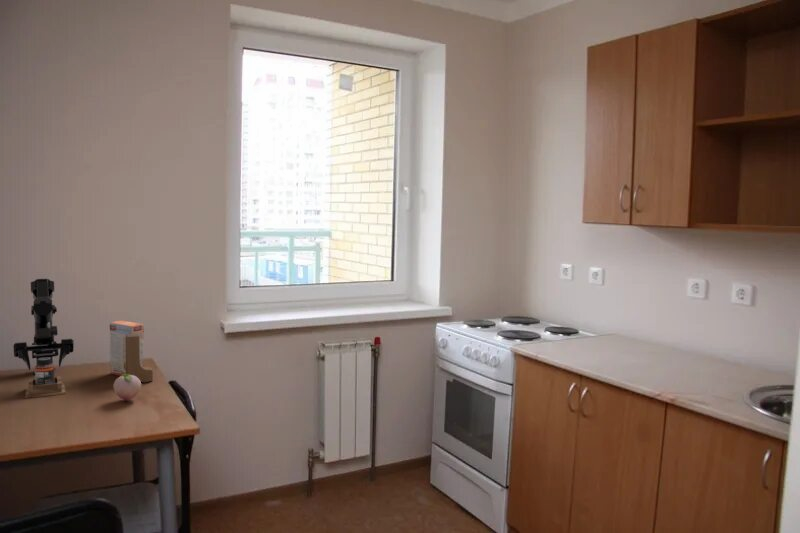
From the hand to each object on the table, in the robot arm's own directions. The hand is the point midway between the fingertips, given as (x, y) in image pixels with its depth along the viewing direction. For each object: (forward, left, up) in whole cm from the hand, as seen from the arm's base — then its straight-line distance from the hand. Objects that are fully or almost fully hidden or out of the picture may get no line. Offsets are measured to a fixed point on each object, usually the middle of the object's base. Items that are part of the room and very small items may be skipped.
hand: (44, 367), depth 218 cm
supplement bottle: (0, 0, -8) cm, 8 cm away
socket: (+1, 0, -8) cm, 8 cm away
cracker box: (-17, +24, -9) cm, 31 cm away
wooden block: (-7, +30, -9) cm, 32 cm away
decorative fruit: (+17, +30, -9) cm, 35 cm away
